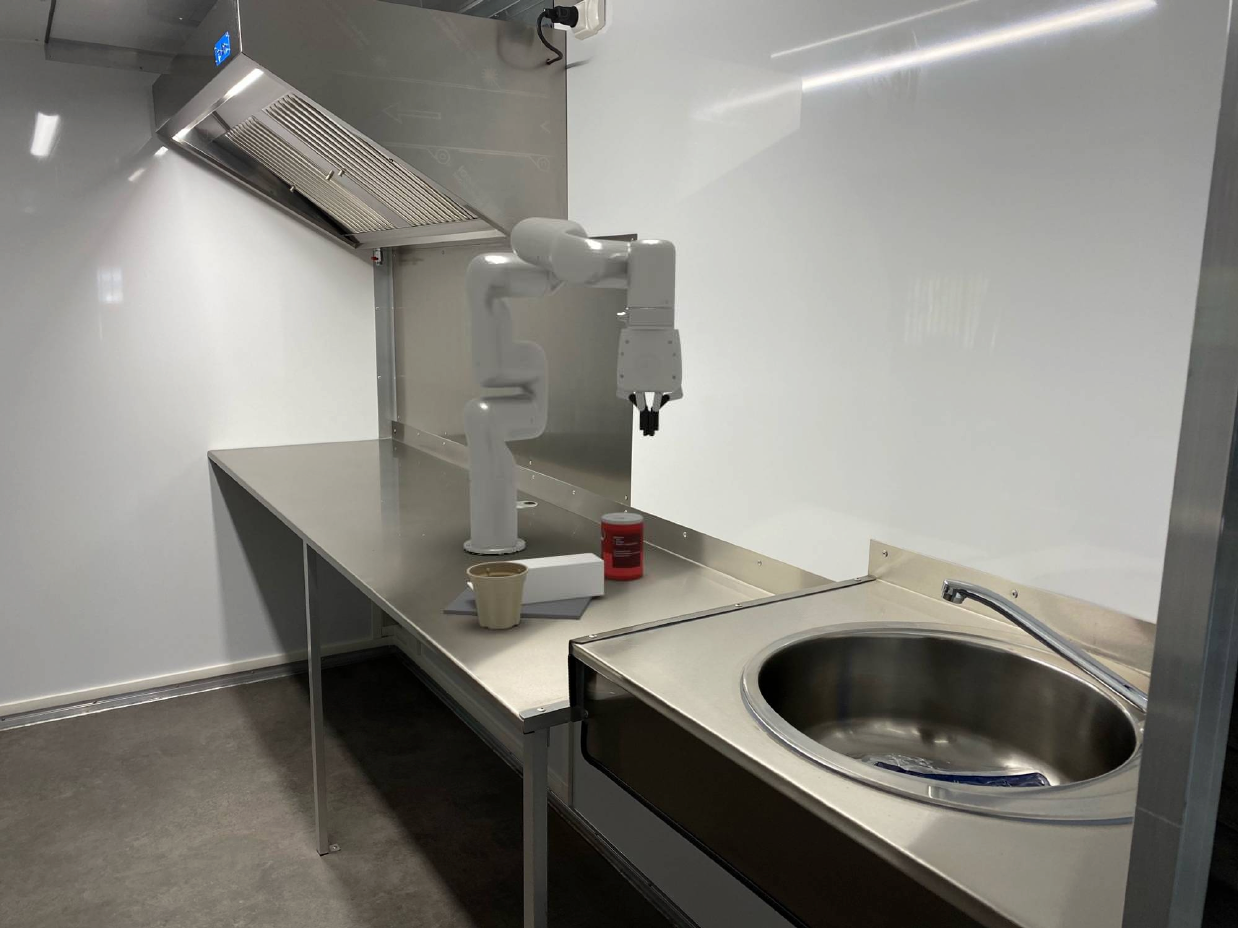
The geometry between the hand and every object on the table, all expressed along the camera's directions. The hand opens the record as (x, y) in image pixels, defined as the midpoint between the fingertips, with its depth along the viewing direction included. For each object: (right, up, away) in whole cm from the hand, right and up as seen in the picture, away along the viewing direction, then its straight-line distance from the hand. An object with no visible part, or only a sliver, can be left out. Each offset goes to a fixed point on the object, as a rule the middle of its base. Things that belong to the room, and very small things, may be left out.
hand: (649, 435), depth 149 cm
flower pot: (-23, -29, -7) cm, 38 cm away
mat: (-20, -27, +7) cm, 35 cm away
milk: (-8, -23, +9) cm, 26 cm away
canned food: (-4, -25, +21) cm, 33 cm away
